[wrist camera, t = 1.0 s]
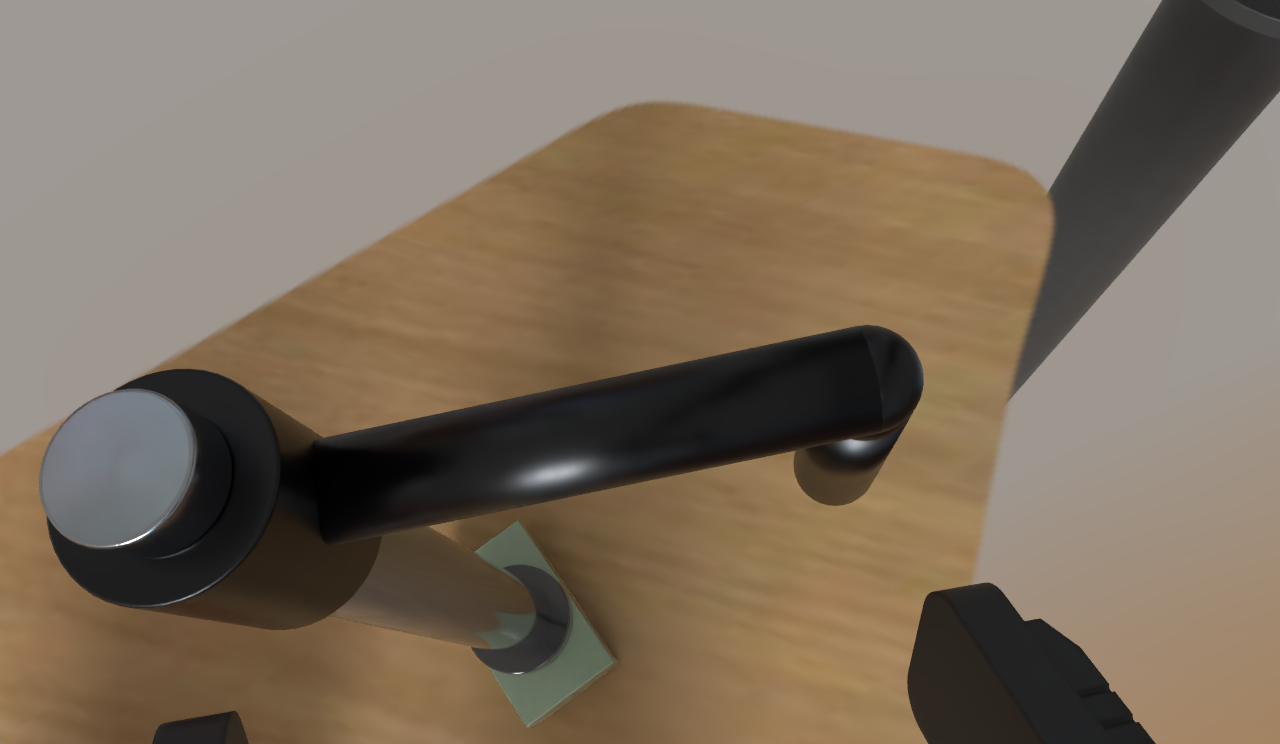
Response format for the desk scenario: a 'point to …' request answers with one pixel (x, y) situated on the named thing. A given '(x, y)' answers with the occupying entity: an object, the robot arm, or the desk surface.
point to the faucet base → (488, 612)
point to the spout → (428, 468)
